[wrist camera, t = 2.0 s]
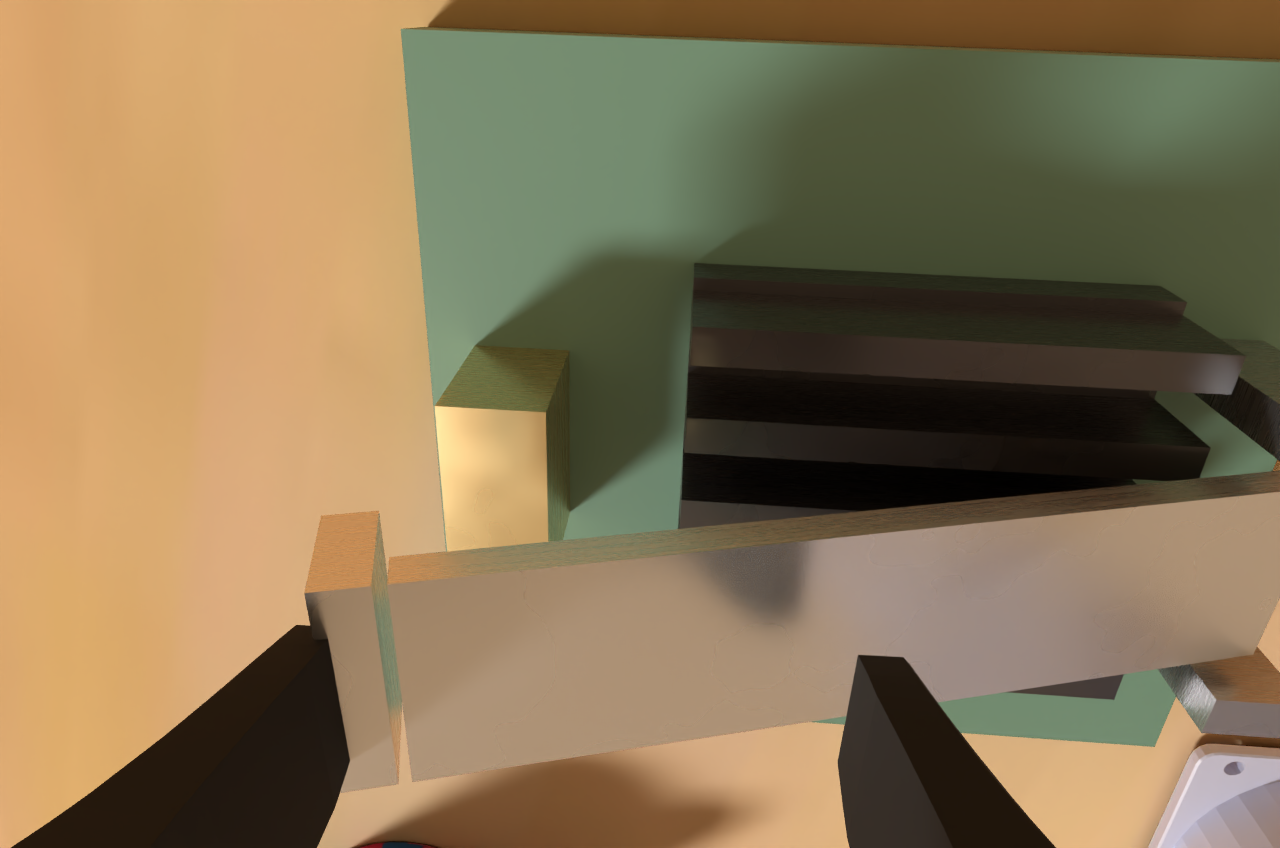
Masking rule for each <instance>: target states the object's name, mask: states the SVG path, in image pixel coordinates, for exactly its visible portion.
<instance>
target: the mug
mask: <svg viewBox="0 0 1280 848" xmlns="http://www.w3.org/2000/svg"><path fill="white" fill-rule="evenodd" d="M359 848H436V847H432V846H428V845H424V844H417V843H410V842H385V843H375V844H371V845H367V846H363V847H359Z"/></svg>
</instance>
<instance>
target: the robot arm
mask: <svg viewBox="0 0 1280 848" xmlns="http://www.w3.org/2000/svg"><path fill="white" fill-rule="evenodd" d="M349 763H350V757H349V751H348V746H347V740H346V735H345V729H344V724H343V718H342V713H341V707H340V702H339V696H338V690H337V685H336V679H335V674H334V668H333V663H332V657H331V652H330V646H329V641H328V639H321V640H313V637H312V632H311V626H305V625H296V626H294V627H293V628H292V629H291V630H290V631H288V632H287V633H286V634H285V635H283V636H282V637H281V638H280V639H279V640H278V641H276V642H275V643H274V644H273V645H272V646H271V647H269V648H268V649H267V650H266V651H265V652H264V653H262V654H261V655H260V656H259V657H258V658H256V659H255V660H254V661H253V662H252V663H251V664H249V665H248V666H247V667H246V668H245V669H244V670H242V671H241V672H240V673H239V674H238V675H237V676H235V677H234V678H233V679H232V680H231V681H230V682H228V683H227V684H226V685H225V686H224V687H223V688H221V689H220V690H219V691H218V692H217V693H216V694H214V695H213V696H212V697H211V698H210V699H208V700H207V701H206V702H205V703H204V704H202V705H201V706H200V707H199V708H198V709H196V710H195V711H194V712H193V713H192V714H190V715H189V716H188V717H187V718H186V719H184V720H183V721H182V722H181V723H179V724H178V725H177V726H176V727H175V728H173V729H172V730H171V731H170V732H169V733H167V734H166V735H165V736H164V737H163V738H161V739H160V740H159V741H157V742H156V743H155V744H153V745H152V746H151V747H150V748H148V749H147V750H146V751H144V752H143V753H142V754H140V755H139V756H138V757H137V758H135V759H134V760H133V761H131V762H130V763H129V764H127V765H126V766H125V767H124V768H122V769H121V770H120V771H118V772H117V773H116V774H114V775H113V776H112V777H111V778H109V779H108V780H107V781H105V782H104V783H103V784H101V785H100V786H99V787H97V788H96V789H95V790H94V791H92V792H91V793H90V794H88V795H87V796H85V797H84V798H83V799H81V800H80V801H78V802H77V803H76V804H74V805H73V806H72V807H70V808H69V809H67V810H66V811H64V812H63V813H62V814H60V815H59V816H57V817H56V818H54V819H53V820H52V821H50V822H49V823H47V824H46V825H44V826H43V827H41V828H40V829H38V830H37V831H35V832H34V833H32V834H31V835H29V836H28V837H26V838H25V839H23V840H22V841H20V842H19V843H17V844H16V845H14V846H13V847H11V848H317V846H318V844H319V842H320V840H321V837H322V835H323V833H324V831H325V829H326V826H327V824H328V822H329V820H330V817H331V815H332V813H333V811H334V808H335V806H336V803H337V800H338V797H339V794H340V791H341V788H342V785H343V782H344V779H345V776H346V773H347V769H348V766H349ZM838 769H839V777H840V785H841V794H842V802H843V810H844V817H845V824H846V831H847V838H848V843H849V847H850V848H1056V847H1055V846H1054V845H1053V844H1052V843H1051V842H1050V841H1049V839H1048V838H1047V837H1046V836H1045V835H1044V834H1043V833H1042V832H1041V830H1040V829H1039V828H1038V827H1037V826H1036V825H1035V824H1034V823H1033V821H1032V820H1031V819H1030V818H1029V817H1028V816H1027V814H1026V813H1025V812H1024V811H1023V810H1022V809H1021V807H1020V806H1019V805H1018V804H1017V803H1016V802H1015V800H1014V799H1013V798H1012V797H1011V796H1010V794H1009V793H1008V792H1007V791H1006V789H1005V788H1004V787H1003V786H1002V784H1001V783H1000V782H999V781H998V780H997V778H996V777H995V776H994V775H993V773H992V772H991V771H990V770H989V769H988V767H987V766H986V765H985V764H984V762H983V761H982V760H981V759H980V757H979V756H978V755H977V754H976V752H975V751H974V750H973V748H972V747H971V746H970V745H969V743H968V742H967V741H966V739H965V738H964V737H963V736H962V734H961V733H960V732H959V730H958V729H957V728H956V726H955V725H954V724H953V722H952V721H951V720H950V718H949V717H948V716H947V714H946V713H945V712H944V710H943V709H942V708H941V706H940V705H939V704H938V702H937V701H936V700H935V698H934V697H933V695H932V694H931V693H930V691H929V690H928V689H927V687H926V686H925V684H924V683H923V682H922V680H921V679H920V678H919V676H918V675H917V673H916V672H915V671H914V669H913V668H912V667H911V665H910V664H909V663H908V662H907V661H906V659H905V658H904V657H892V656H873V655H858V657H857V663H856V668H855V673H854V678H853V684H852V689H851V694H850V700H849V705H848V710H847V716H846V721H845V726H844V731H843V737H842V742H841V747H840V753H839V758H838ZM1148 848H1280V748H1267V747H1253V746H1239V745H1225V744H1205V745H1202V746H1199V747H1198V748H1196V749H1195V750H1194V751H1193V752H1192V753H1191V755H1190V756H1189V759H1188V761H1187V763H1186V765H1185V767H1184V770H1183V772H1182V774H1181V776H1180V778H1179V781H1178V783H1177V785H1176V787H1175V789H1174V791H1173V794H1172V796H1171V798H1170V800H1169V802H1168V805H1167V807H1166V809H1165V811H1164V813H1163V816H1162V818H1161V820H1160V822H1159V824H1158V827H1157V829H1156V831H1155V833H1154V835H1153V837H1152V840H1151V842H1150V844H1149V846H1148Z"/></svg>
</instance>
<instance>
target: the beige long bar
mask: <svg viewBox="0 0 1280 848" xmlns="http://www.w3.org/2000/svg"><path fill="white" fill-rule="evenodd" d="M1279 598H1280V471H1270V472H1259V473H1249V474H1239V475H1229V476H1218V477H1208V478H1198V479H1188V480H1177V481H1167V482H1157V483H1146V484H1136V485H1126V486H1116V487H1105V488H1095V489H1085V490H1075V491H1064V492H1054V493H1044V494H1033V495H1023V496H1013V497H1003V498H992V499H982V500H972V501H962V502H951V503H941V504H931V505H920V506H910V507H900V508H890V509H879V510H869V511H859V512H849V513H838V514H828V515H818V516H807V517H797V518H787V519H777V520H766V521H756V522H746V523H736V524H725V525H715V526H705V527H694V528H684V529H674V530H664V531H653V532H643V533H633V534H623V535H612V536H602V537H592V538H582V539H571V540H561V541H551V542H540V543H530V544H520V545H510V546H499V547H489V548H479V549H469V550H458V551H448V552H438V553H427V554H417V555H407V556H397V557H389V568H388V579H387V571H386V563H385V555H384V547H383V539H382V531H381V523H380V516H379V511H370V512H358V513H347V514H335V515H324V516H321V519H320V523H319V528H318V533H317V537H316V542H315V546H314V551H313V556H312V560H311V565H310V570H309V574H308V579H307V584H306V588H305V599H306V604H307V610H308V615H309V621H310V626H311V632H312V637H313V640H321V639H328V641H329V646H330V652H331V657H332V663H333V668H334V674H335V679H336V685H337V690H338V696H339V702H340V707H341V713H342V718H343V724H344V729H345V735H346V740H347V746H348V751H349V757H350V763H349V766H348V769H347V773H346V776H345V779H344V782H343V785H342V788H341V793H343V792H350V791H357V790H363V789H370V788H376V787H383V786H390V785H396V784H398V780H399V758H400V735H401V712H402V704H403V712H404V720H405V728H406V736H407V744H408V751H409V759H410V767H411V775H412V782H416V781H423V780H429V779H436V778H442V777H449V776H455V775H462V774H469V773H475V772H482V771H488V770H495V769H502V768H508V767H515V766H521V765H528V764H535V763H541V762H548V761H554V760H561V759H568V758H574V757H581V756H587V755H594V754H601V753H607V752H614V751H620V750H627V749H634V748H640V747H647V746H653V745H660V744H667V743H673V742H680V741H686V740H693V739H700V738H706V737H713V736H719V735H726V734H732V733H739V732H746V731H752V730H759V729H765V728H772V727H779V726H785V725H792V724H798V723H805V722H812V721H818V720H825V719H831V718H838V717H845V716H847V710H848V705H849V700H850V694H851V689H852V684H853V678H854V673H855V668H856V663H857V657H858V655H873V656H892V657H904V658H905V659H906V661H907V662H908V663H909V664H910V665H911V667H912V668H913V669H914V671H915V672H916V673H917V675H918V676H919V678H920V679H921V680H922V682H923V683H924V684H925V686H926V687H927V689H928V690H929V691H930V693H931V694H932V695H933V697H934V698H935V700H936V701H937V702H944V701H950V700H957V699H963V698H970V697H977V696H983V695H990V694H996V693H1003V692H1010V691H1016V690H1023V689H1029V688H1036V687H1042V686H1049V685H1056V684H1062V683H1069V682H1075V681H1082V680H1089V679H1095V678H1102V677H1108V676H1115V675H1122V674H1128V673H1135V672H1141V671H1148V670H1155V669H1161V668H1168V667H1174V666H1181V665H1188V664H1194V663H1201V662H1207V661H1214V660H1221V659H1227V658H1234V657H1240V656H1247V655H1253V654H1254V652H1255V649H1256V647H1257V645H1258V643H1259V641H1260V639H1261V637H1262V635H1263V632H1264V630H1265V628H1266V626H1267V624H1268V622H1269V620H1270V617H1271V615H1272V613H1273V611H1274V609H1275V607H1276V605H1277V602H1278V600H1279Z"/></svg>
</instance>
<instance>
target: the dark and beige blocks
mask: <svg viewBox="0 0 1280 848" xmlns="http://www.w3.org/2000/svg"><path fill="white" fill-rule="evenodd" d="M1186 304H1187V302H1186V301H1185V300H1183V299H1181V298H1180V297H1178V296H1176V295H1175V294H1173V293H1171V292H1170V291H1168V290H1166V289H1165V288H1163V287H1161V286H1154V285H1134V284H1113V283H1093V282H1073V281H1052V280H1032V279H1012V278H992V277H971V276H951V275H931V274H910V273H890V272H870V271H849V270H829V269H809V268H789V267H768V266H748V265H728V264H707V263H694V276H693V292H692V308H691V324H690V340H689V356H688V372H687V388H686V404H685V420H684V435H683V451H682V467H681V483H680V499H679V515H678V529H684V528H694V527H705V526H715V525H725V524H736V523H746V522H756V521H766V520H777V519H787V518H797V517H807V516H818V515H828V514H838V513H849V512H859V511H869V510H879V509H890V508H900V507H910V506H920V505H931V504H941V503H951V502H962V501H972V500H982V499H992V498H1003V497H1013V496H1023V495H1033V494H1044V493H1054V492H1064V491H1075V490H1085V489H1095V488H1105V487H1116V486H1126V485H1136V483H1135V482H1134V481H1133V480H1132V479H1138V480H1154V481H1177V480H1188V479H1198V478H1200V475H1201V472H1202V470H1203V467H1204V465H1205V462H1206V459H1207V457H1208V454H1209V452H1210V449H1211V448H1210V447H1209V446H1208V445H1207V444H1206V443H1205V442H1204V441H1202V440H1201V439H1200V438H1199V437H1198V436H1197V435H1195V434H1194V433H1193V432H1192V431H1191V430H1190V429H1188V428H1187V427H1186V426H1185V425H1184V424H1183V423H1182V422H1180V421H1179V420H1178V419H1177V418H1176V417H1175V416H1173V415H1172V414H1171V413H1170V412H1169V411H1168V410H1166V409H1165V408H1164V407H1163V406H1162V405H1161V404H1160V403H1158V402H1157V401H1156V400H1155V396H1156V393H1157V391H1168V392H1187V393H1193V394H1195V395H1196V396H1197V397H1199V398H1200V399H1201V400H1202V401H1204V402H1205V403H1206V404H1208V405H1209V406H1210V407H1211V408H1213V409H1214V410H1215V411H1216V412H1218V413H1219V414H1220V415H1222V416H1223V417H1224V418H1225V419H1227V420H1228V421H1229V422H1230V423H1232V424H1233V425H1234V426H1236V427H1237V428H1238V429H1239V430H1241V431H1242V432H1243V433H1244V434H1246V435H1247V436H1248V437H1250V438H1251V439H1252V440H1253V441H1255V442H1256V443H1257V444H1259V445H1260V446H1261V447H1262V448H1264V449H1265V450H1266V451H1267V452H1269V453H1270V454H1271V455H1273V456H1274V457H1275V458H1276V459H1278V460H1279V461H1280V350H1279V349H1277V348H1275V347H1274V346H1272V345H1270V344H1269V343H1267V342H1265V341H1260V340H1241V339H1221V338H1218V337H1216V336H1215V335H1213V334H1211V333H1210V332H1208V331H1207V330H1205V329H1204V328H1202V327H1201V326H1199V325H1197V324H1196V323H1194V322H1193V321H1191V320H1190V319H1188V318H1186V317H1185V316H1183V313H1184V310H1185V307H1186ZM435 416H436V427H437V439H438V451H439V462H440V474H441V486H442V497H443V509H444V521H445V532H446V544H447V552H448V551H458V550H469V549H479V548H489V547H499V546H510V545H520V544H530V543H540V542H551V541H561V540H563V538H564V534H565V530H566V526H567V522H568V518H569V514H570V397H569V350H552V349H534V348H515V347H497V346H478V345H475V346H474V347H473V349H472V350H471V352H470V353H469V355H468V356H467V358H466V359H465V361H464V363H463V364H462V366H461V367H460V369H459V370H458V372H457V373H456V375H455V376H454V378H453V379H452V381H451V382H450V384H449V385H448V387H447V388H446V390H445V391H444V393H443V394H442V396H441V397H440V399H439V400H438V402H437V403H436V405H435ZM1158 671H1159V672H1160V673H1161V675H1162V676H1163V678H1164V679H1165V681H1166V682H1167V684H1168V685H1169V686H1170V688H1171V689H1172V691H1173V692H1174V694H1175V695H1176V697H1177V698H1178V699H1179V701H1180V702H1181V704H1182V705H1183V707H1184V708H1185V710H1186V711H1187V713H1188V714H1189V715H1190V717H1191V718H1192V720H1193V721H1194V723H1195V724H1196V726H1197V727H1198V728H1199V730H1200V731H1201V733H1211V734H1225V735H1239V736H1253V737H1267V738H1280V672H1279V671H1278V670H1277V669H1276V668H1275V667H1274V666H1273V664H1272V663H1271V662H1270V661H1269V660H1268V659H1267V658H1266V656H1265V655H1264V654H1263V653H1262V652H1261V651H1260V649H1259V648H1258V647H1256V649H1255V652H1254V654H1253V655H1247V656H1240V657H1234V658H1227V659H1221V660H1214V661H1207V662H1201V663H1194V664H1188V665H1181V666H1174V667H1168V668H1161V669H1158ZM1123 675H1124V674H1122V675H1115V676H1108V677H1102V678H1095V679H1089V680H1082V681H1075V682H1069V683H1062V684H1056V685H1049V686H1042V687H1036V688H1029V689H1023V690H1016V691H1010V692H1009V693H1023V694H1037V695H1052V696H1066V697H1080V698H1095V699H1109V700H1114V699H1115V696H1116V694H1117V691H1118V689H1119V686H1120V683H1121V681H1122V678H1123Z"/></svg>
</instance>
